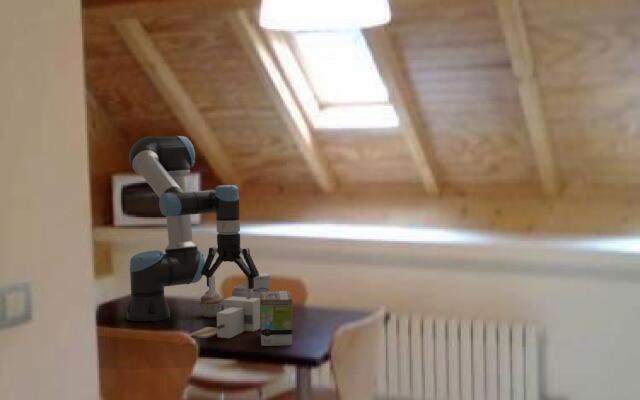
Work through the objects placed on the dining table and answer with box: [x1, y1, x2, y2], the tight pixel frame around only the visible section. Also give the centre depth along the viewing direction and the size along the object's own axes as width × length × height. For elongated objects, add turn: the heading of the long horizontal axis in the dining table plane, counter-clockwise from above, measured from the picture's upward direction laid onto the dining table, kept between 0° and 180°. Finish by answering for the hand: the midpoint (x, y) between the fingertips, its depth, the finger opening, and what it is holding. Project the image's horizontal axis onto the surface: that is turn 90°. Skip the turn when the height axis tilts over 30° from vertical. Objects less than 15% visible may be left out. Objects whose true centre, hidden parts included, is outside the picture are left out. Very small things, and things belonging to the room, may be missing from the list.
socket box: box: [223, 295, 260, 333], centre depth 307 cm, size 11×6×10 cm, turn 67°
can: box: [231, 284, 254, 298], centre depth 320 cm, size 8×8×12 cm
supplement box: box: [253, 272, 271, 298], centre depth 339 cm, size 7×7×13 cm
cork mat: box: [189, 326, 217, 339], centre depth 301 cm, size 7×12×1 cm, turn 157°
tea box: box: [259, 290, 293, 347], centre depth 290 cm, size 15×10×15 cm, turn 5°
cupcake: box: [197, 289, 224, 319], centre depth 327 cm, size 9×9×10 cm
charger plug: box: [216, 307, 245, 339], centre depth 299 cm, size 4×16×8 cm, turn 157°
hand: (230, 297), depth 298 cm, fingers open, 13 cm apart
